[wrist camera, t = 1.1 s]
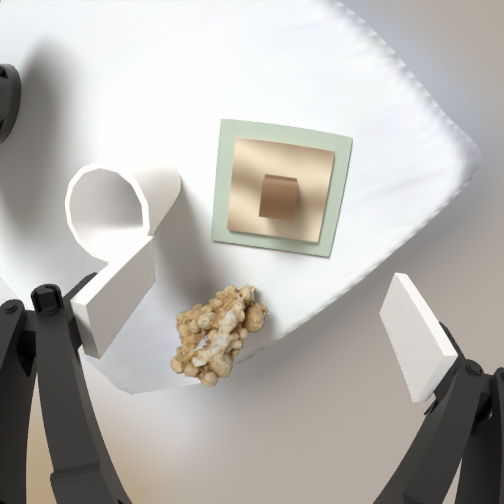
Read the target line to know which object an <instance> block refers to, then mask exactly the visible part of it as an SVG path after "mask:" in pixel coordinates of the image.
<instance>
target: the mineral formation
mask: <svg viewBox="0 0 504 504" xmlns="http://www.w3.org/2000/svg"><path fill="white" fill-rule="evenodd" d="M255 289H256V286H251V285H247V286H244V287H243V288H241V289H240V290H237V287H234V286H232V285H230V286H228V287H226V288H225V289H224V290H223V291H219V292H217V293H216V298H214V299H211V300H209V303H208V304H206V305H203V304H196V305H194V307H193V308H192V310H188V311H186V312H181V313H179V314H178V315H177V316H176V319H177V325H176V328H177V330H178V332H179V333H180V335H179V338H181V343H182V346H181V347H178V348H177V356H175V357H174V358H173V359H172V360H171V368H172V369H173V370H174V371H175V372H176V373H177V374H180V373H185V376H189V377H194V378H196V377H197V378H198V379H199V380H201V383H202V384H204V385H206V386H209V387H213V386H215V385H216V383H217V382H218V378H219V377H222V378H226V377H228V376H229V374H230V372H231V369H232V363H233V360H234V357H235V356H236V355H237V354H238V352H239V349H240V348H242V347H243V340H244V339H246V338H247V337H248V331H249V332H257V331H258V330H260V329H261V328H262V327H263V324H264V319H265V316H266V315H267V311H268V310H267V308H266V306H263V305H262V304H261V303H259V302H257V303H254V291H255Z"/></svg>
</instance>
